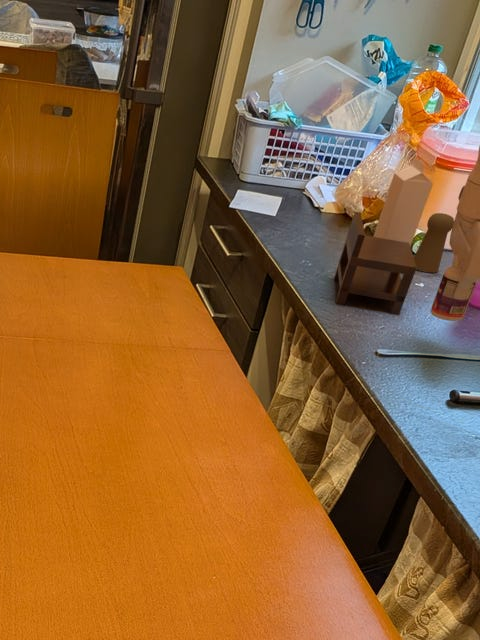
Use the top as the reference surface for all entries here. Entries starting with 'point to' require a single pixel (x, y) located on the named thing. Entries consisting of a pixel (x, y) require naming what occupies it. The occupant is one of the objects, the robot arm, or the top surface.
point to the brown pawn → (433, 243)
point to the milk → (404, 204)
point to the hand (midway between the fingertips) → (455, 291)
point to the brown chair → (374, 267)
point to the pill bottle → (451, 296)
